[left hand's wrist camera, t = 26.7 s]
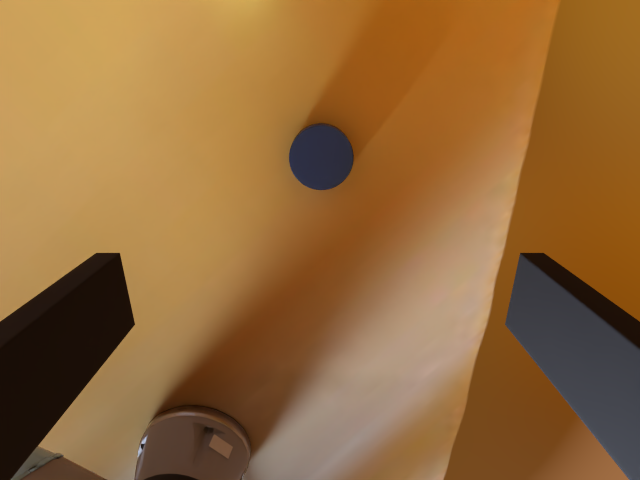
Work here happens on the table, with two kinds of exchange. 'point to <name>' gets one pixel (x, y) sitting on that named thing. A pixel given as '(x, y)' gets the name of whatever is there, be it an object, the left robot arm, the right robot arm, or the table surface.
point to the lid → (321, 156)
